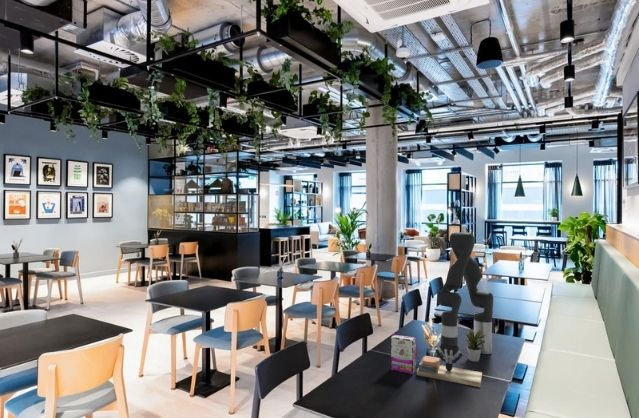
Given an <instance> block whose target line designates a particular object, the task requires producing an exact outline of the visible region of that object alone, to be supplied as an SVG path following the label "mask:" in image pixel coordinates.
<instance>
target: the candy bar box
mask: <svg viewBox="0 0 639 418" xmlns="http://www.w3.org/2000/svg"><path fill="white" fill-rule="evenodd" d="M416 344H417V343H416V337H413V336H406V335H399V334H393V335H391V337H390V371H393V370H395V371H394V372H398V371H399V372H398V373H403V372H404V373H403V374H409V375H414V374H415V373H416V371H417V368H416V366H417V362H416Z"/></svg>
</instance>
